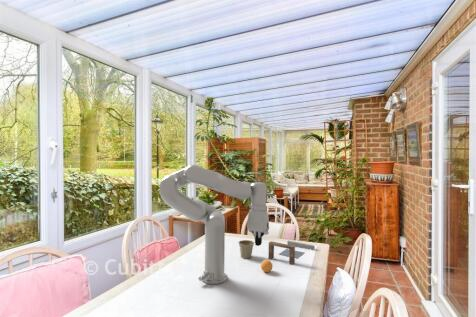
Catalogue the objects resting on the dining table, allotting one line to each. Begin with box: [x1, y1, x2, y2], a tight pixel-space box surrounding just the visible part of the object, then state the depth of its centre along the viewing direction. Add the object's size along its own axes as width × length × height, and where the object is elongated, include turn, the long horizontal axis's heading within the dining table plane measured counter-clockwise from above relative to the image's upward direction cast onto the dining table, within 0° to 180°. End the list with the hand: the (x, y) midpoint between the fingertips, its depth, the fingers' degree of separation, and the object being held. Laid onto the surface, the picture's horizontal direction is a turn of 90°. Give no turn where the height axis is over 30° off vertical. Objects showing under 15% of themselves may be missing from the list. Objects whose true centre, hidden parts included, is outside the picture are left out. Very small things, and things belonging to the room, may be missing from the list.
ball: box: [260, 259, 273, 273], centre depth 146 cm, size 6×6×6 cm
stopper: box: [286, 240, 316, 251], centre depth 186 cm, size 2×18×2 cm, turn 56°
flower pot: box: [238, 239, 255, 260], centre depth 167 cm, size 9×9×9 cm
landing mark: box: [278, 248, 305, 259], centre depth 174 cm, size 12×12×1 cm
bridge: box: [267, 241, 296, 265], centre depth 161 cm, size 3×15×10 cm, turn 56°
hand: (258, 244), depth 138 cm, fingers closed
